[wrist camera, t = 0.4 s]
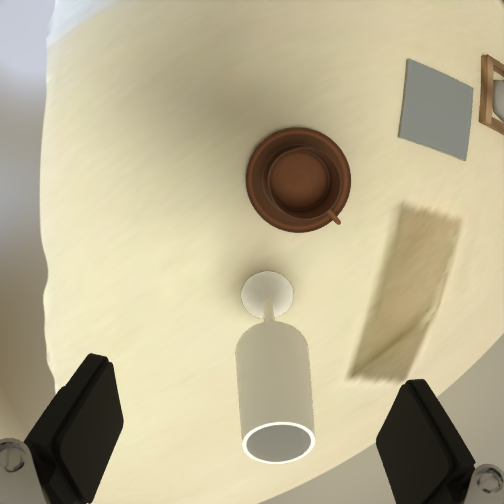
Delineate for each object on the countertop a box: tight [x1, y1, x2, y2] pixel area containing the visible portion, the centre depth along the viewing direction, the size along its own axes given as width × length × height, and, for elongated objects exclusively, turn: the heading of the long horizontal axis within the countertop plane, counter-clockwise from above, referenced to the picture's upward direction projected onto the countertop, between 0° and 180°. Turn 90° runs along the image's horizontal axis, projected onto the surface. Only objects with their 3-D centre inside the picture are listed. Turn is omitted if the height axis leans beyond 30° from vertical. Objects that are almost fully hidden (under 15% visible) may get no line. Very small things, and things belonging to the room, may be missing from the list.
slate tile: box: [398, 59, 473, 161], centre depth 33 cm, size 11×11×1 cm
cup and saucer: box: [246, 128, 351, 233], centre depth 34 cm, size 12×12×6 cm
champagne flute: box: [235, 271, 315, 464], centre depth 29 cm, size 7×7×24 cm
